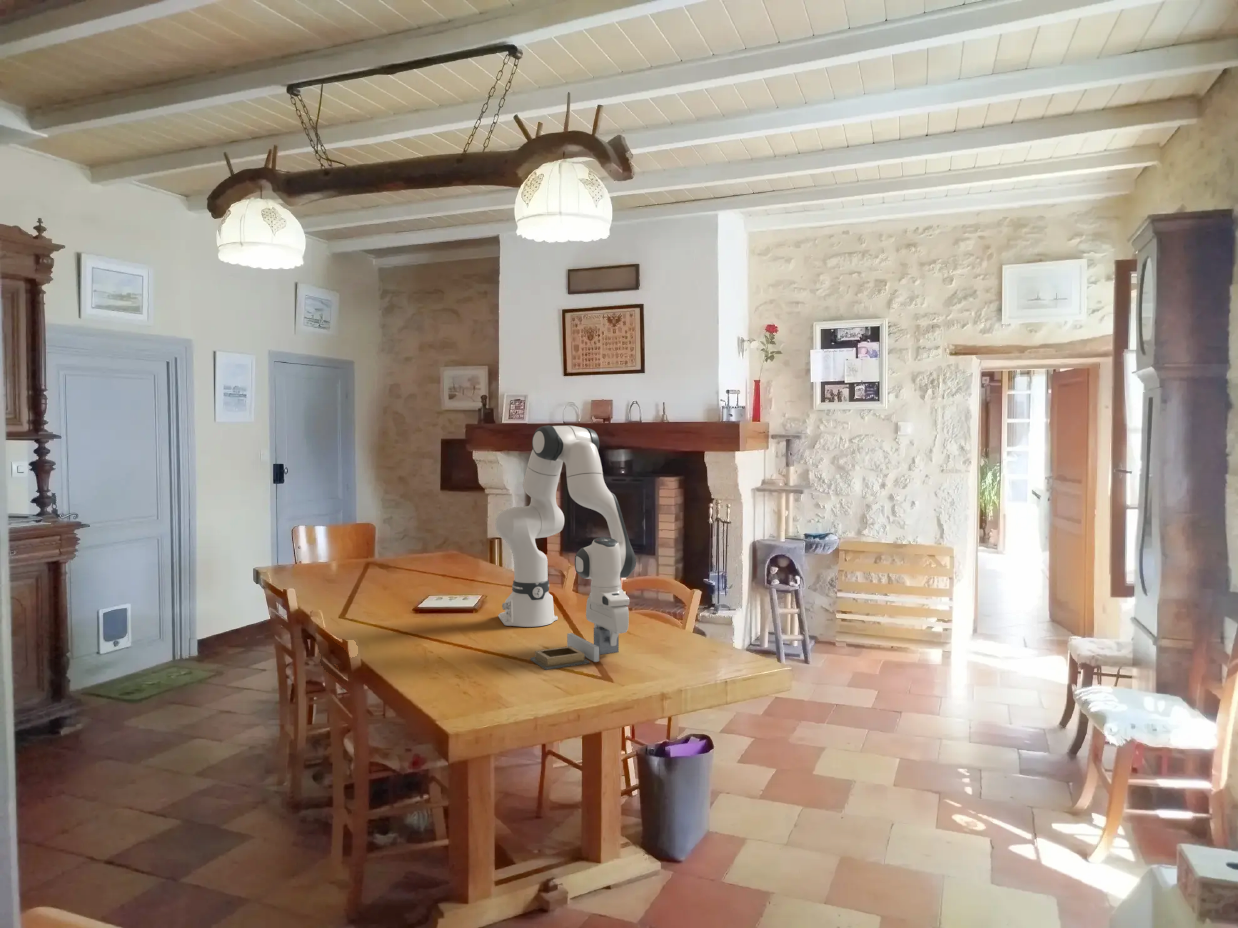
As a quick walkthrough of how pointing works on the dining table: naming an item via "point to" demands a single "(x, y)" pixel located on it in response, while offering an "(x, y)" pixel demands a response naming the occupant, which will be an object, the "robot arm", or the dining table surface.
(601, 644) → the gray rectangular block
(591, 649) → the door edge
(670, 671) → the dining table surface
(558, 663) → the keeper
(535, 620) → the robot arm
